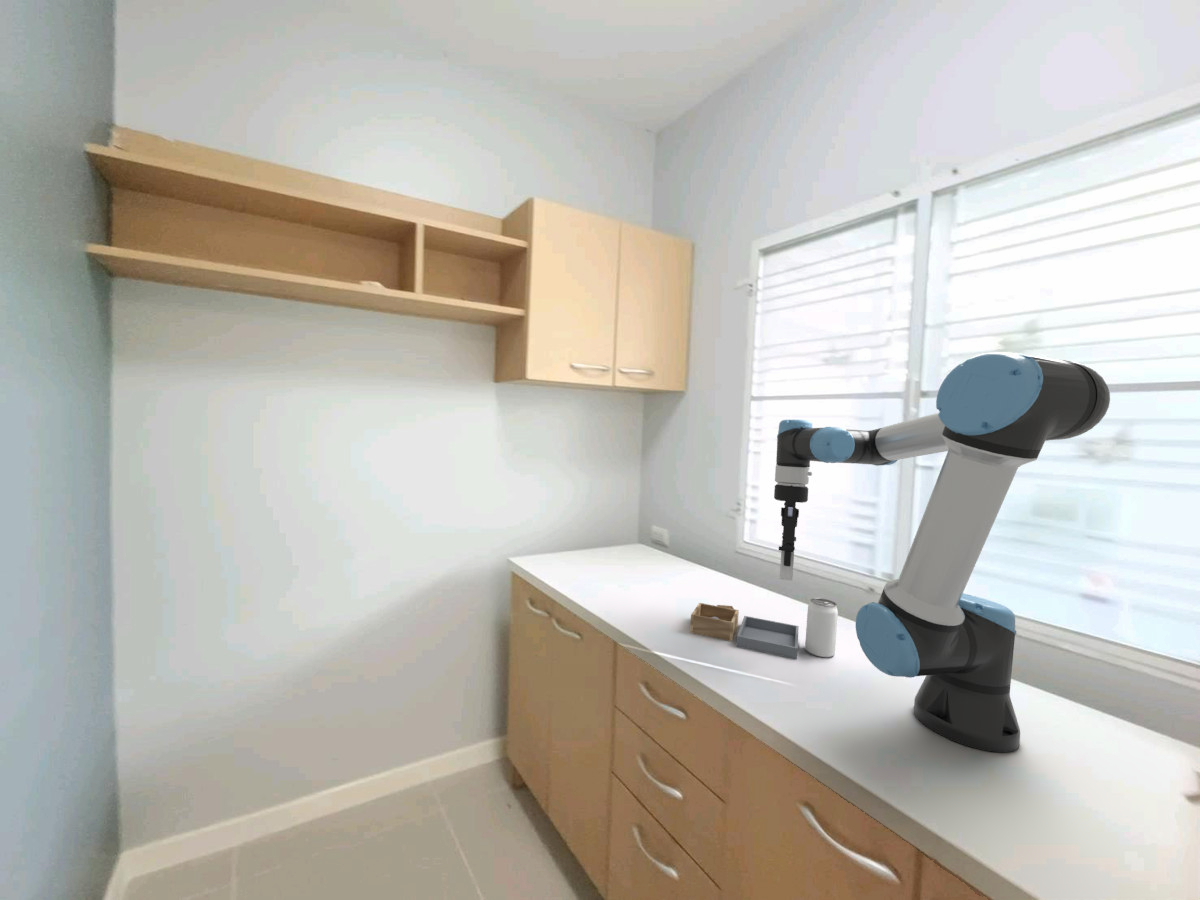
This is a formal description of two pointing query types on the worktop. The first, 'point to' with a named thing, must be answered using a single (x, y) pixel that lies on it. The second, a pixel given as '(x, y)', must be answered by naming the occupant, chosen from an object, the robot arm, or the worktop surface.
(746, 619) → the grey tray
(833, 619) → the can
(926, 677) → the robot arm
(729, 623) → the oak bin
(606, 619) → the worktop surface
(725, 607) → the walnut block
